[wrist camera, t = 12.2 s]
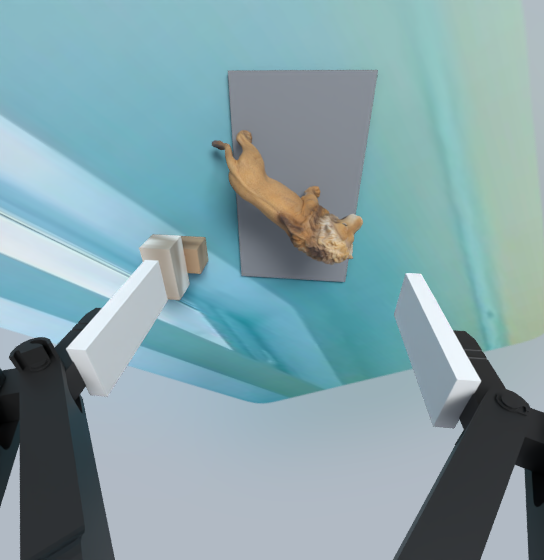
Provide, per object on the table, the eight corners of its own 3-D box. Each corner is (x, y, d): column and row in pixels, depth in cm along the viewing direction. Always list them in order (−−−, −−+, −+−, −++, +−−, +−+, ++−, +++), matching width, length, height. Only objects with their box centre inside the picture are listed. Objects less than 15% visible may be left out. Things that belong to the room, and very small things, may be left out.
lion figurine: (362, 197, 30) (378, 237, 22) (330, 239, 33) (335, 288, 25) (224, 114, 27) (190, 129, 20) (203, 169, 30) (166, 199, 23)
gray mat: (242, 273, 37) (241, 275, 36) (229, 70, 26) (228, 70, 25) (344, 279, 36) (345, 281, 35) (376, 70, 25) (378, 70, 24)
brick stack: (162, 268, 38) (139, 297, 33) (151, 222, 34) (124, 247, 30) (209, 271, 37) (193, 301, 32) (203, 224, 34) (184, 250, 29)
